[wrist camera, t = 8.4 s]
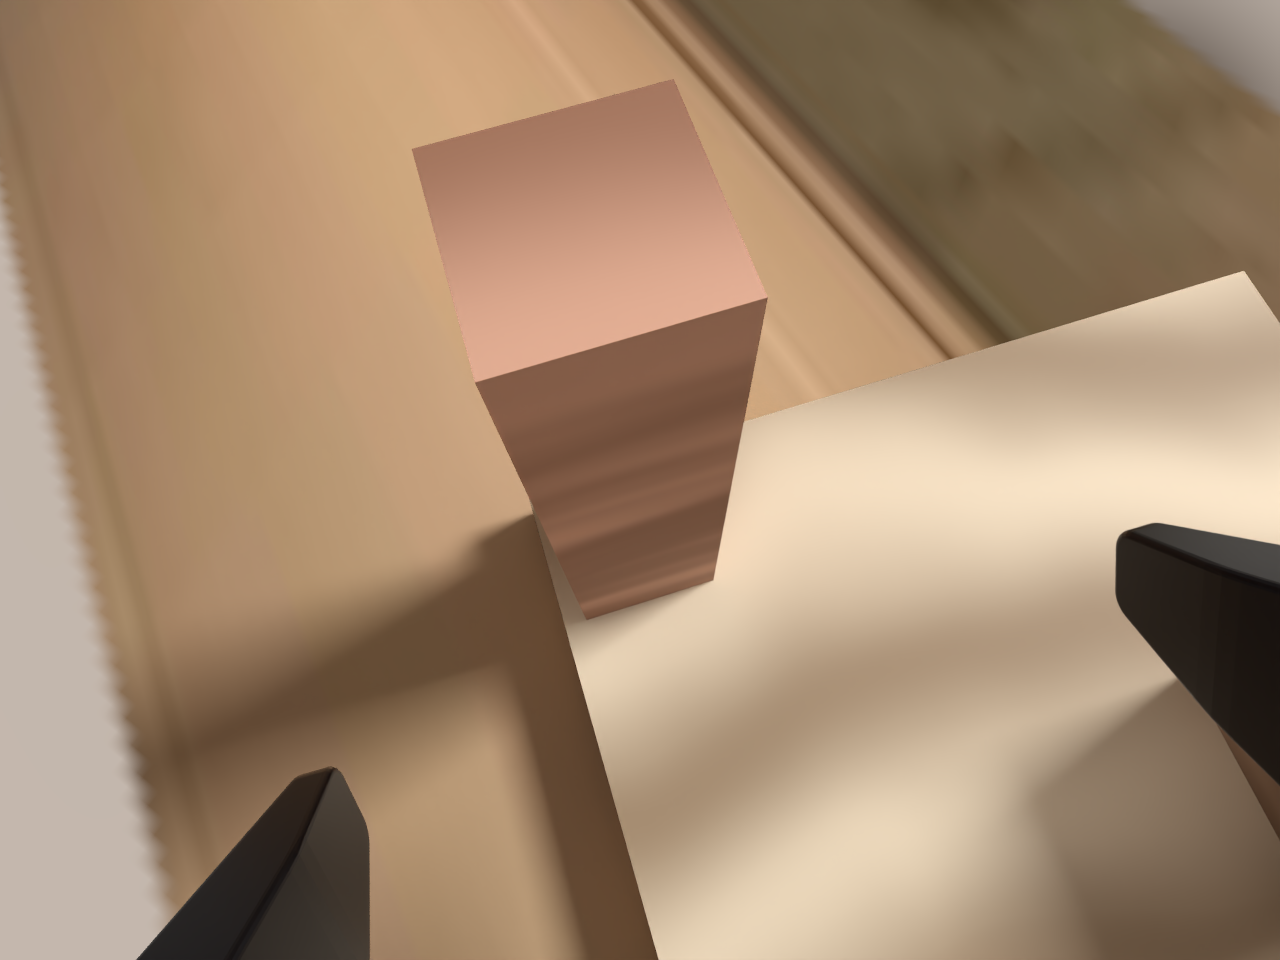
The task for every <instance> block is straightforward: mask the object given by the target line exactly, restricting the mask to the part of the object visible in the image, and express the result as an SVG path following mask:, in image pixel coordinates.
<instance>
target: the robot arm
mask: <svg viewBox="0 0 1280 960" xmlns="http://www.w3.org/2000/svg"><path fill="white" fill-rule="evenodd" d="M1115 595H1116V599H1117V602H1118V605H1119V607H1120V609H1121V611H1122V612H1123V614H1124V615H1125V617H1126V618H1127V619H1128V620H1129V621H1130V623H1131V624H1132V625H1133V626H1134V627H1135V629H1136V630H1137V631H1138V632H1139V633H1140V635H1141V636H1142V637H1143V638H1144V639H1145V640H1146V642H1147V643H1148V644H1149V645H1150V646H1151V648H1152V649H1153V650H1154V651H1155V652H1156V654H1157V655H1158V656H1159V657H1160V658H1161V660H1162V661H1163V662H1164V663H1165V664H1166V666H1167V667H1168V668H1169V669H1170V670H1171V672H1172V673H1173V674H1174V675H1175V676H1176V678H1177V679H1178V680H1179V681H1180V682H1181V684H1182V685H1183V686H1184V687H1185V688H1186V690H1187V691H1188V692H1189V693H1190V694H1191V696H1192V697H1193V698H1194V699H1195V700H1196V702H1197V703H1198V704H1199V705H1200V706H1201V707H1202V708H1203V709H1204V711H1205V712H1206V713H1207V714H1208V715H1209V716H1210V717H1211V718H1212V719H1213V720H1214V721H1215V722H1216V724H1217V725H1218V726H1219V727H1220V728H1221V729H1222V730H1223V731H1224V732H1225V733H1226V734H1227V735H1228V736H1229V737H1230V738H1231V739H1232V740H1233V741H1234V742H1235V743H1236V744H1237V745H1238V746H1239V747H1240V748H1241V749H1242V750H1243V751H1244V752H1245V753H1246V754H1247V755H1248V756H1249V757H1250V758H1251V759H1252V760H1253V761H1254V762H1255V763H1256V764H1258V765H1259V766H1260V767H1261V768H1262V769H1263V770H1264V771H1265V772H1266V773H1267V774H1268V775H1269V776H1270V777H1271V778H1272V779H1273V780H1274V781H1275V782H1276V783H1277V784H1278V785H1279V786H1280V545H1278V544H1273V543H1267V542H1262V541H1256V540H1251V539H1246V538H1240V537H1235V536H1229V535H1224V534H1218V533H1213V532H1207V531H1202V530H1196V529H1191V528H1186V527H1180V526H1175V525H1169V524H1164V523H1150V524H1146V525H1143V526H1140V527H1136V528H1133V529H1130V530H1126V531H1124V532H1123V533H1121V534H1120V535H1119V537H1118V539H1117V541H1116V563H1115ZM137 960H370V863H369V834H368V829H367V825H366V822H365V820H364V817H363V815H362V813H361V811H360V809H359V807H358V805H357V803H356V801H355V799H354V797H353V795H352V793H351V791H350V789H349V787H348V785H347V783H346V781H345V779H344V777H343V775H342V774H341V772H340V771H339V770H338V769H337V768H334V767H326V768H323V769H320V770H316V771H313V772H309V773H306V774H303V775H300V776H298V777H296V778H295V779H294V780H293V781H292V782H291V783H290V784H289V785H288V786H287V787H286V789H285V790H284V791H283V792H282V793H281V794H280V795H279V797H278V798H277V799H276V800H275V801H274V802H273V803H272V805H271V806H270V807H269V808H268V809H267V810H266V812H265V813H264V814H263V815H262V816H261V817H260V818H259V820H258V821H257V822H256V823H255V824H254V825H253V826H252V828H251V829H250V830H249V831H248V832H247V833H246V834H245V836H244V837H243V838H242V839H241V840H240V841H239V842H238V844H237V845H236V846H235V847H234V848H233V849H232V851H231V852H230V853H229V854H228V855H227V856H226V857H225V859H224V860H223V861H222V862H221V863H220V864H219V865H218V867H217V868H216V869H215V870H214V871H213V872H212V873H211V875H210V876H209V877H208V878H207V879H206V880H205V881H204V883H203V884H202V885H201V886H200V887H199V888H198V890H197V891H196V892H195V893H194V894H193V895H192V896H191V898H190V899H189V900H188V901H187V902H186V903H185V904H184V906H183V907H182V908H181V909H180V910H179V911H178V912H177V914H176V915H175V916H174V917H173V918H172V919H171V920H170V922H169V923H168V924H167V925H166V926H165V927H164V929H163V930H162V931H161V932H160V933H159V934H158V935H157V937H156V938H155V939H154V940H153V941H152V942H151V944H150V945H149V946H148V947H147V948H146V949H145V950H144V951H143V953H142V954H141V955H140V956H139V957H138V958H137Z"/></svg>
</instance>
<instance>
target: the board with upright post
mask: <svg viewBox="0 0 1280 960" xmlns="http://www.w3.org/2000/svg"><path fill="white" fill-rule="evenodd" d="M412 151H413V155H414V159H415V162H416V166H417V170H418V173H419V177H420V181H421V185H422V188H423V192H424V196H425V199H426V203H427V207H428V210H429V214H430V218H431V222H432V225H433V229H434V233H435V236H436V240H437V244H438V247H439V251H440V255H441V259H442V262H443V266H444V270H445V273H446V277H447V281H448V284H449V288H450V292H451V296H452V299H453V303H454V307H455V310H456V314H457V318H458V321H459V325H460V329H461V333H462V336H463V340H464V344H465V347H466V351H467V355H468V358H469V362H470V366H471V369H472V373H473V377H474V381H475V383H476V386H477V388H478V390H479V392H480V394H481V396H482V398H483V401H484V403H485V405H486V407H487V409H488V411H489V413H490V415H491V418H492V420H493V422H494V424H495V426H496V428H497V430H498V433H499V435H500V437H501V439H502V441H503V443H504V445H505V447H506V450H507V452H508V454H509V456H510V458H511V460H512V462H513V464H514V467H515V469H516V471H517V473H518V475H519V477H520V479H521V482H522V484H523V486H524V488H525V490H526V492H527V494H528V497H529V500H530V504H531V507H532V511H533V514H534V518H535V521H536V525H537V529H538V532H539V536H540V539H541V543H542V546H543V550H544V553H545V557H546V561H547V564H548V568H549V571H550V575H551V578H552V582H553V586H554V589H555V593H556V596H557V600H558V603H559V607H560V610H561V614H562V618H563V621H564V625H565V628H566V632H567V635H568V639H569V642H570V646H571V650H572V653H573V657H574V660H575V664H576V667H577V671H578V675H579V678H580V682H581V685H582V689H583V692H584V696H585V699H586V703H587V707H588V710H589V714H590V717H591V721H592V724H593V728H594V731H595V735H596V739H597V742H598V746H599V749H600V753H601V756H602V760H603V764H604V767H605V771H606V774H607V778H608V781H609V785H610V788H611V792H612V796H613V799H614V803H615V806H616V810H617V813H618V817H619V820H620V824H621V828H622V831H623V835H624V838H625V842H626V845H627V849H628V853H629V856H630V860H631V863H632V867H633V870H634V874H635V877H636V881H637V885H638V888H639V892H640V895H641V899H642V902H643V906H644V910H645V913H646V917H647V920H648V924H649V927H650V931H651V934H652V938H653V942H654V945H655V949H656V952H657V956H658V959H659V960H1280V840H1279V838H1278V836H1277V835H1276V833H1275V831H1274V829H1273V827H1272V825H1271V824H1270V822H1269V820H1268V818H1267V816H1266V814H1265V813H1264V811H1263V809H1262V807H1261V805H1260V803H1259V801H1258V800H1257V798H1256V796H1255V794H1254V792H1253V790H1252V789H1251V787H1250V785H1249V783H1248V781H1247V779H1246V777H1245V776H1244V774H1243V772H1242V770H1241V768H1240V766H1239V765H1238V763H1237V761H1236V759H1235V757H1234V755H1233V753H1232V752H1231V750H1230V748H1229V746H1228V744H1227V742H1226V741H1225V739H1224V737H1223V735H1222V733H1221V731H1220V730H1219V728H1218V726H1217V724H1216V722H1215V721H1214V720H1213V719H1212V718H1211V717H1210V716H1209V715H1208V714H1207V713H1206V712H1205V711H1204V709H1203V708H1202V707H1201V706H1200V705H1199V704H1198V703H1197V702H1196V700H1195V699H1194V698H1193V697H1192V696H1191V694H1190V693H1189V692H1188V691H1187V690H1186V688H1185V687H1184V686H1183V685H1182V684H1181V682H1180V681H1179V680H1178V679H1177V678H1176V676H1175V675H1174V674H1173V673H1172V672H1171V670H1170V669H1169V668H1168V667H1167V666H1166V664H1165V663H1164V662H1163V661H1162V660H1161V658H1160V657H1159V656H1158V655H1157V654H1156V652H1155V651H1154V650H1153V649H1152V648H1151V646H1150V645H1149V644H1148V643H1147V642H1146V640H1145V639H1144V638H1143V637H1142V636H1141V635H1140V633H1139V632H1138V631H1137V630H1136V629H1135V627H1134V626H1133V625H1132V624H1131V623H1130V621H1129V620H1128V619H1127V618H1126V617H1125V615H1124V614H1123V612H1122V611H1121V609H1120V607H1119V605H1118V602H1117V599H1116V595H1115V563H1116V541H1117V539H1118V537H1119V535H1120V534H1121V533H1123V532H1124V531H1126V530H1130V529H1133V528H1136V527H1140V526H1143V525H1146V524H1150V523H1164V524H1169V525H1175V526H1180V527H1186V528H1191V529H1196V530H1202V531H1207V532H1213V533H1218V534H1224V535H1229V536H1235V537H1240V538H1246V539H1251V540H1256V541H1262V542H1267V543H1273V544H1278V545H1280V323H1279V322H1278V320H1277V319H1276V317H1275V316H1274V314H1273V313H1272V311H1271V310H1270V309H1269V307H1268V306H1267V304H1266V303H1265V301H1264V300H1263V298H1262V297H1261V295H1260V294H1259V292H1258V291H1257V289H1256V288H1255V287H1254V285H1253V284H1252V282H1251V281H1250V279H1249V278H1248V276H1247V275H1246V273H1245V272H1244V271H1242V272H1239V273H1235V274H1232V275H1229V276H1225V277H1222V278H1219V279H1216V280H1212V281H1209V282H1206V283H1202V284H1199V285H1196V286H1192V287H1189V288H1186V289H1182V290H1179V291H1176V292H1172V293H1169V294H1166V295H1162V296H1159V297H1156V298H1153V299H1149V300H1146V301H1143V302H1139V303H1136V304H1133V305H1129V306H1126V307H1123V308H1119V309H1116V310H1113V311H1109V312H1106V313H1103V314H1099V315H1096V316H1093V317H1090V318H1086V319H1083V320H1080V321H1076V322H1073V323H1070V324H1066V325H1063V326H1060V327H1056V328H1053V329H1050V330H1046V331H1043V332H1040V333H1036V334H1033V335H1030V336H1027V337H1023V338H1020V339H1017V340H1013V341H1010V342H1007V343H1003V344H1000V345H997V346H993V347H990V348H987V349H983V350H980V351H977V352H974V353H970V354H967V355H964V356H960V357H957V358H954V359H950V360H947V361H944V362H940V363H937V364H934V365H930V366H927V367H924V368H920V369H917V370H914V371H911V372H907V373H904V374H901V375H897V376H894V377H891V378H887V379H884V380H881V381H877V382H874V383H871V384H867V385H864V386H861V387H857V388H854V389H851V390H848V391H844V392H841V393H838V394H834V395H831V396H828V397H824V398H821V399H818V400H814V401H811V402H808V403H804V404H801V405H798V406H794V407H791V408H788V409H785V410H781V411H778V412H775V413H771V414H768V415H765V416H761V417H758V418H755V419H751V420H748V421H745V422H744V418H745V413H746V408H747V403H748V397H749V392H750V387H751V382H752V377H753V371H754V366H755V361H756V356H757V351H758V345H759V340H760V335H761V330H762V325H763V319H764V314H765V309H766V304H767V298H768V297H767V295H766V292H765V290H764V288H763V285H762V283H761V281H760V278H759V276H758V274H757V271H756V269H755V267H754V264H753V262H752V260H751V257H750V255H749V253H748V251H747V248H746V246H745V244H744V241H743V239H742V237H741V234H740V232H739V230H738V227H737V225H736V223H735V220H734V218H733V216H732V213H731V211H730V209H729V206H728V204H727V202H726V200H725V197H724V195H723V193H722V190H721V188H720V186H719V183H718V181H717V179H716V176H715V174H714V172H713V169H712V167H711V165H710V162H709V160H708V158H707V155H706V153H705V151H704V149H703V146H702V144H701V142H700V139H699V137H698V135H697V132H696V130H695V128H694V125H693V123H692V121H691V118H690V116H689V114H688V111H687V109H686V107H685V104H684V102H683V100H682V98H681V95H680V93H679V91H678V88H677V86H676V84H675V81H674V79H672V80H668V81H665V82H661V83H657V84H653V85H650V86H646V87H642V88H638V89H635V90H631V91H627V92H623V93H620V94H616V95H612V96H609V97H605V98H601V99H597V100H594V101H590V102H586V103H582V104H579V105H575V106H571V107H567V108H564V109H560V110H556V111H552V112H549V113H545V114H541V115H537V116H534V117H530V118H526V119H523V120H519V121H515V122H511V123H508V124H504V125H500V126H496V127H493V128H489V129H485V130H481V131H478V132H474V133H470V134H466V135H463V136H459V137H455V138H451V139H448V140H444V141H440V142H437V143H433V144H429V145H425V146H422V147H418V148H414V149H412Z"/></svg>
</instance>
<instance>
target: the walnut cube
mask: <svg viewBox="0 0 1280 960" xmlns="http://www.w3.org/2000/svg"><path fill="white" fill-rule="evenodd" d="M1217 726H1218V725H1217ZM1218 728H1219V730H1220V731H1221V733H1222V735H1223V737H1224V739H1225V741H1226V742H1227V744H1228V746H1229V748H1230V750H1231V752H1232V753H1233V755H1234V757H1235V759H1236V761H1237V763H1238V765H1239V766H1240V768H1241V770H1242V772H1243V774H1244V776H1245V777H1246V779H1247V781H1248V783H1249V785H1250V787H1251V789H1252V790H1253V792H1254V794H1255V796H1256V798H1257V800H1258V801H1259V803H1260V805H1261V807H1262V809H1263V811H1264V813H1265V814H1266V816H1267V818H1268V820H1269V822H1270V824H1271V825H1272V827H1273V829H1274V831H1275V833H1276V835H1277V836H1278V838H1279V840H1280V786H1279V785H1278V784H1277V783H1276V782H1275V781H1274V780H1273V779H1272V778H1271V777H1270V776H1269V775H1268V774H1267V773H1266V772H1265V771H1264V770H1263V769H1262V768H1261V767H1260V766H1259V765H1258V764H1256V763H1255V762H1254V761H1253V760H1252V759H1251V758H1250V757H1249V756H1248V755H1247V754H1246V753H1245V752H1244V751H1243V750H1242V749H1241V748H1240V747H1239V746H1238V745H1237V744H1236V743H1235V742H1234V741H1233V740H1232V739H1231V738H1230V737H1229V736H1228V735H1227V734H1226V733H1225V732H1224V731H1223V730H1222V729H1221V728H1220V727H1219V726H1218Z"/></svg>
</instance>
